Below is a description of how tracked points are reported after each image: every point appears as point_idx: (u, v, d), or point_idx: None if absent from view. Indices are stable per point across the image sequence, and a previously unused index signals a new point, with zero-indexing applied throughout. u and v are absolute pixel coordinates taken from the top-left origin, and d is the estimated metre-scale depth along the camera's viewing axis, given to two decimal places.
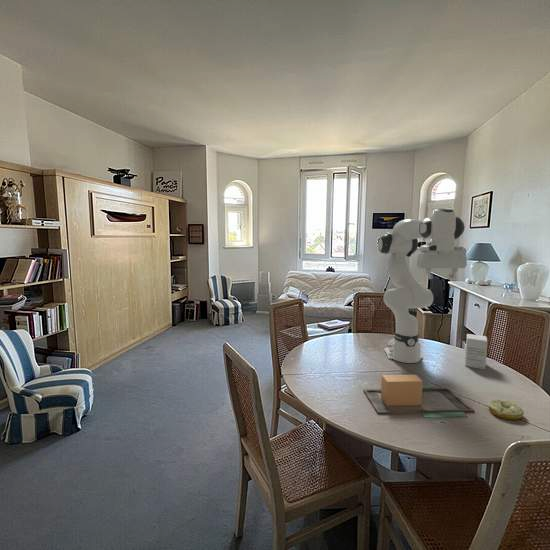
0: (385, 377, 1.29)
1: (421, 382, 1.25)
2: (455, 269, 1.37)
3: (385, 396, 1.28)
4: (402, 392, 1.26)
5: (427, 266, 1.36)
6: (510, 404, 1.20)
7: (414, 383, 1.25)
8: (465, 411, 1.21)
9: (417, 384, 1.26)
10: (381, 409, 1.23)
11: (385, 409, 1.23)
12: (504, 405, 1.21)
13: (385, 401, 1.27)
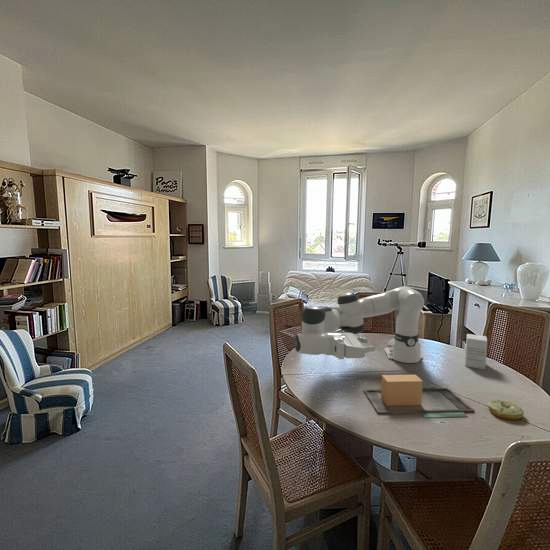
0: (385, 377, 1.29)
1: (421, 382, 1.25)
2: (356, 337, 1.32)
3: (385, 396, 1.28)
4: (402, 392, 1.26)
5: (361, 345, 1.20)
6: (510, 404, 1.20)
7: (414, 383, 1.25)
8: (465, 411, 1.21)
9: (417, 384, 1.26)
10: (381, 409, 1.23)
11: (385, 409, 1.23)
12: (504, 405, 1.21)
13: (385, 401, 1.27)
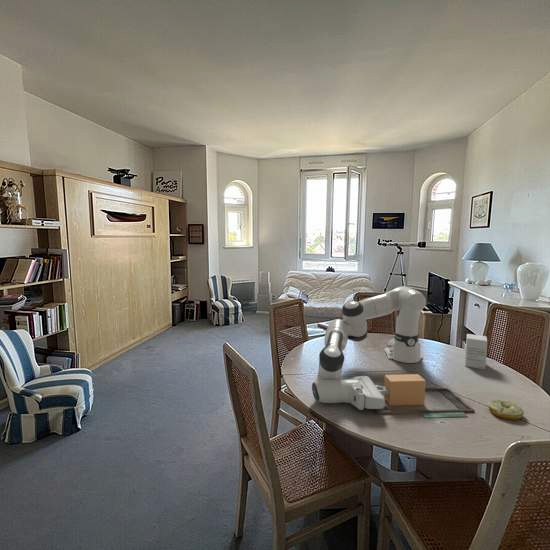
0: (388, 377, 1.29)
1: (424, 382, 1.26)
2: (376, 386, 1.29)
3: (388, 396, 1.28)
4: (405, 391, 1.26)
5: (380, 395, 1.20)
6: (510, 404, 1.20)
7: (417, 382, 1.26)
8: (465, 411, 1.21)
9: (420, 384, 1.26)
10: (381, 409, 1.23)
11: (385, 409, 1.23)
12: (504, 405, 1.21)
13: (388, 401, 1.27)
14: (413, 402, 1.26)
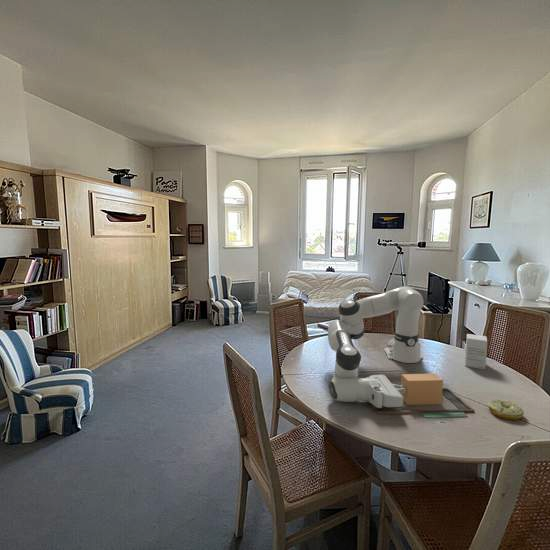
0: (405, 376, 1.29)
1: (441, 381, 1.26)
2: (393, 384, 1.30)
3: (405, 395, 1.28)
4: (422, 391, 1.26)
5: (398, 393, 1.21)
6: (510, 404, 1.20)
7: (435, 382, 1.26)
8: (465, 411, 1.21)
9: (437, 383, 1.26)
10: (381, 409, 1.23)
11: (385, 409, 1.23)
12: (504, 405, 1.21)
13: (405, 400, 1.28)
14: (430, 401, 1.27)
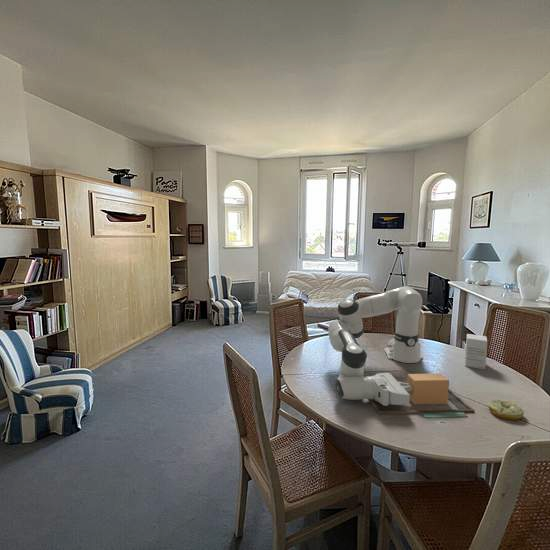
0: (411, 376, 1.30)
1: (448, 381, 1.26)
2: (399, 382, 1.30)
3: (411, 395, 1.29)
4: (428, 390, 1.27)
5: (405, 391, 1.21)
6: (510, 404, 1.20)
7: (441, 382, 1.26)
8: (465, 411, 1.21)
9: (444, 383, 1.26)
10: (381, 409, 1.23)
11: (385, 409, 1.23)
12: (504, 405, 1.21)
13: (411, 400, 1.28)
14: (436, 401, 1.27)
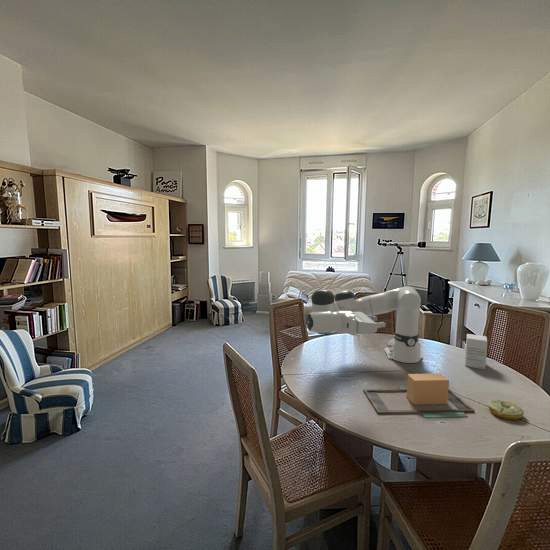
0: (411, 376, 1.30)
1: (448, 381, 1.26)
2: None
3: (411, 395, 1.29)
4: (428, 390, 1.27)
5: (372, 321, 1.23)
6: (510, 404, 1.20)
7: (441, 382, 1.26)
8: (465, 411, 1.21)
9: (444, 383, 1.26)
10: (381, 409, 1.23)
11: (385, 409, 1.23)
12: (504, 405, 1.21)
13: (411, 400, 1.28)
14: (436, 401, 1.27)
